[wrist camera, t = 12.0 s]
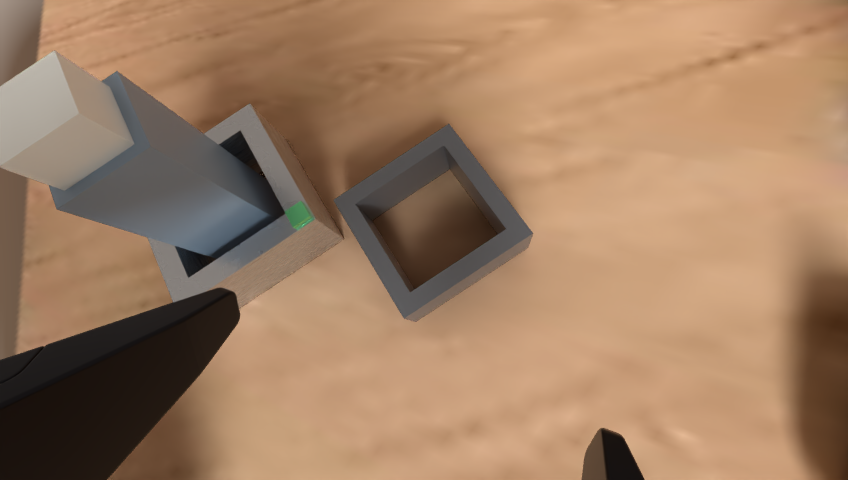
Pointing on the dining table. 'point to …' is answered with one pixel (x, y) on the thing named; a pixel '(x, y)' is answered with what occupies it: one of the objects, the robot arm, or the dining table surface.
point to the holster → (404, 181)
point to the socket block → (270, 247)
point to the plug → (128, 160)
